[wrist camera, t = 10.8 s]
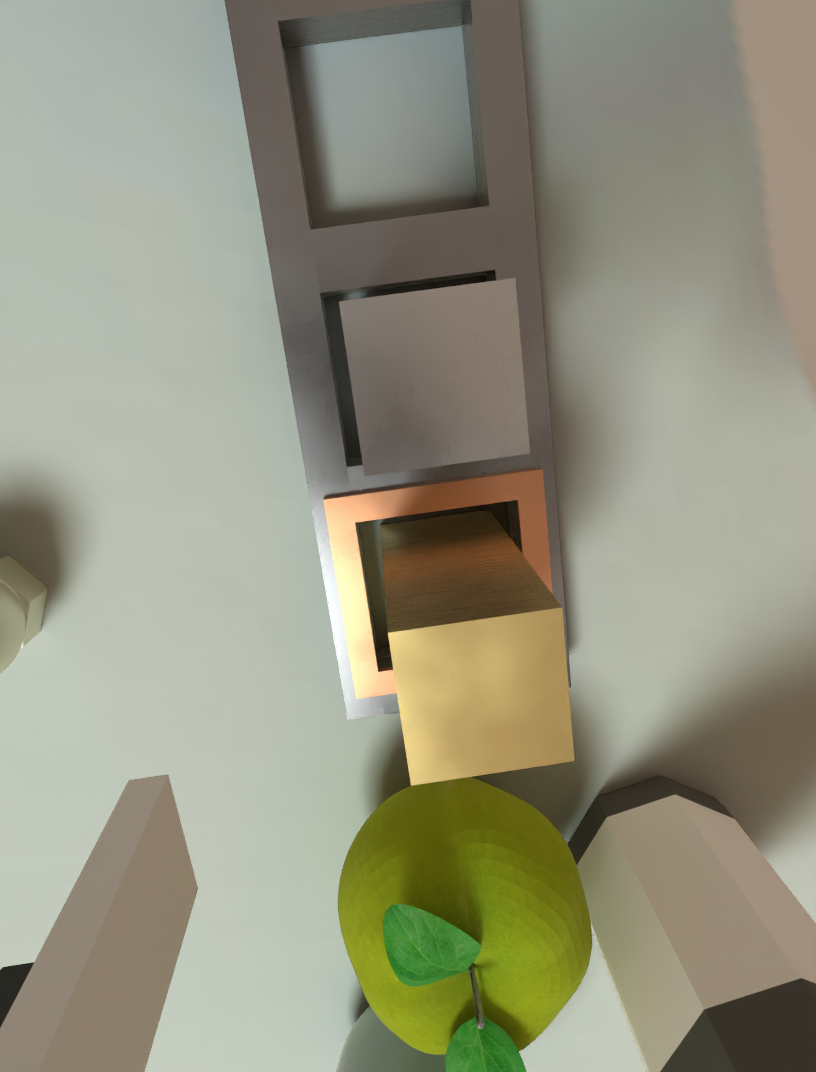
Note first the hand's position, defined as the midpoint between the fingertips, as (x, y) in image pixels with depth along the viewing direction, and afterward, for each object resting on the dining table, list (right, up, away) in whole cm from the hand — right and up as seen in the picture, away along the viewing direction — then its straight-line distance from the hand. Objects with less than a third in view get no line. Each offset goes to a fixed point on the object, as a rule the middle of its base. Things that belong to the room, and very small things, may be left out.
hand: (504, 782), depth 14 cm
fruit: (0, -8, +18) cm, 20 cm away
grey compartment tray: (-2, +11, +13) cm, 17 cm away
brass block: (-1, +4, +15) cm, 15 cm away
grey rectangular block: (-2, +11, +13) cm, 17 cm away
